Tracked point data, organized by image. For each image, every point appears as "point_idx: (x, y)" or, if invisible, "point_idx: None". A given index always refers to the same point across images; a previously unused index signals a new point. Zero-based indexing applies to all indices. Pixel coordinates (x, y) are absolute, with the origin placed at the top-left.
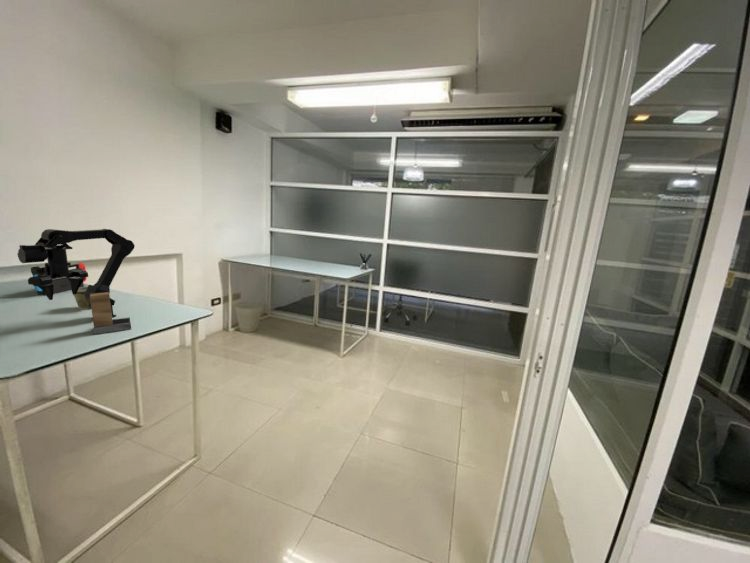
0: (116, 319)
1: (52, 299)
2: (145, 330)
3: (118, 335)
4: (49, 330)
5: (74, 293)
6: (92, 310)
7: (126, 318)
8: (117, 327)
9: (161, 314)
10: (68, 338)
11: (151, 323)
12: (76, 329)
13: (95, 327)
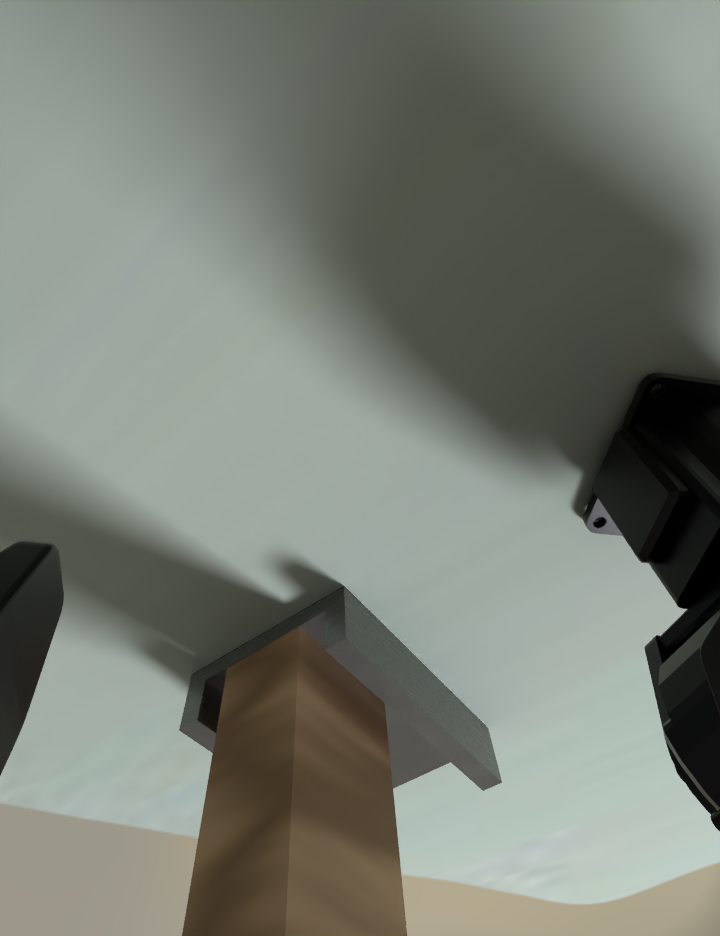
0: (435, 740)
1: (54, 618)
2: None
3: None
4: (182, 220)
5: (717, 673)
6: (193, 902)
7: (470, 779)
8: None
9: None
10: None
11: (486, 822)
12: (277, 473)
13: (196, 734)
